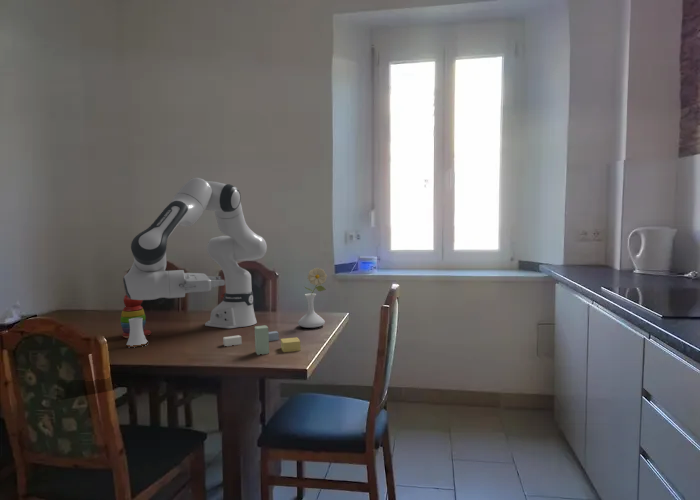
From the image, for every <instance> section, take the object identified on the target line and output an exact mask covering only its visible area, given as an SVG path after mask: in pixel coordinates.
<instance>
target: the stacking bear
mask: <svg viewBox="0 0 700 500" xmlns="http://www.w3.org/2000/svg"><path fill="white" fill-rule="evenodd" d="M143 301H144V300H133V299H130V298H129V297H128V296H127V295H126V294H125V295H124V297H123V303H124V306H125V307H123V308H122V311H121V316H120V327H121V329H122V335H123V336H129V334H130V324H129V319H131V318H143V321H142V326H143V332H144V335H148V334H151V333H152V331H151V330H148V329H145V328H146V323H147V321H146V319H147V316H146V313H145V310H144V308H143V306H141V305H142V304H143ZM122 335H121V336H122ZM151 335H152V334H151Z"/></svg>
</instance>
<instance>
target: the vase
mask: <svg viewBox="0 0 700 500" xmlns="http://www.w3.org/2000/svg"><path fill="white" fill-rule="evenodd" d="M142 321H143V318H131V319H129V324H130V334H129V338H127V342H126V343H125V344H126V345H130V346H133V345H141V344H146V343H147V342H148V343H149V340H147V337H146V336H145V335H144V332H143V326H142ZM126 345H125V346H126Z"/></svg>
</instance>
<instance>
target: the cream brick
mask: <svg viewBox="0 0 700 500" xmlns="http://www.w3.org/2000/svg"><path fill="white" fill-rule="evenodd" d="M222 342H223V346H224V347H225V346H227V347H232V345H234V346H240V345H243V342H242V336H241V335H239V334H237V335H231V336H230V335H229V336H223V338H222Z"/></svg>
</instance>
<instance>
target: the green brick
mask: <svg viewBox="0 0 700 500" xmlns="http://www.w3.org/2000/svg"><path fill="white" fill-rule="evenodd" d="M268 332H269V327H268V326H267V325H256V326H254V345H255V346H254V347H255V351H254V352H255V354H256V355H257V356H261V355H260V354H262V355H267V354H268V353H269V354H270V341H269V333H268Z"/></svg>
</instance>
